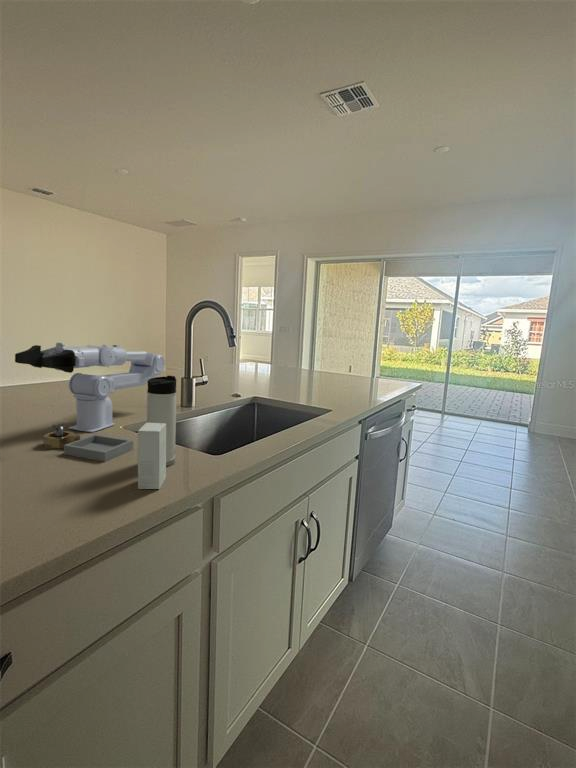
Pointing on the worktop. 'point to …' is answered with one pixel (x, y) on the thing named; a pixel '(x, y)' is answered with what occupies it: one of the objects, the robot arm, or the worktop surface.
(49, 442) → the ring
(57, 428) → the bolt
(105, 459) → the tray
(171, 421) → the travel mug
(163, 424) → the skincare box
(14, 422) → the worktop surface
